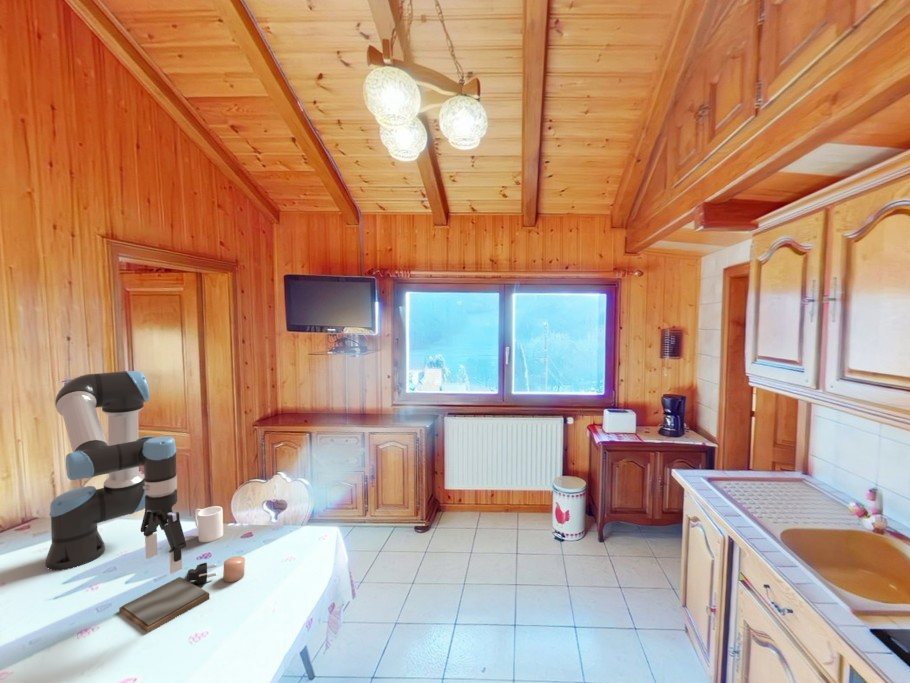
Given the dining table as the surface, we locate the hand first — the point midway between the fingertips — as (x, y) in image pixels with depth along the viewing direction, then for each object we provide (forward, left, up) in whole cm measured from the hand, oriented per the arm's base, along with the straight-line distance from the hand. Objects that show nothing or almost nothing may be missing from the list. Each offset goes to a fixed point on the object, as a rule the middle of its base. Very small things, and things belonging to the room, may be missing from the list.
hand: (163, 563), depth 118 cm
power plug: (-10, +15, -12) cm, 22 cm away
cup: (-29, +28, -13) cm, 43 cm away
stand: (0, 0, -13) cm, 13 cm away
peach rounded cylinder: (+4, +18, -13) cm, 22 cm away
